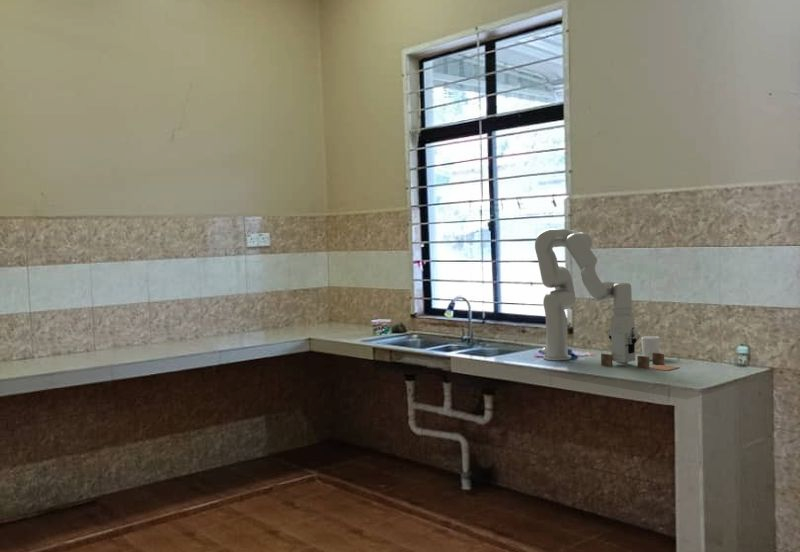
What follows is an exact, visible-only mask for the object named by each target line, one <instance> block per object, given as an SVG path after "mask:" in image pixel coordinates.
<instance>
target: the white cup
mask: <svg viewBox="0 0 800 552" xmlns="http://www.w3.org/2000/svg"><path fill="white" fill-rule="evenodd" d="M660 338H661V337H660V336H657V335H656V336H655V335H645V336H644V335H643V336H640V339H641V341H640V342H641V353H642V356H645V357H649V361H653V355H652V353H660V342H661V341H660Z"/></svg>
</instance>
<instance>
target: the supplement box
mask: <svg viewBox="0 0 800 552" xmlns="http://www.w3.org/2000/svg"><path fill="white" fill-rule="evenodd" d="M632 335H633V333H632V334H631V337H632ZM634 338H635V337H634ZM631 340H632V338H631ZM610 342H611V343H610V344H611V347H610V348H611V349H610V350H611V355H612V362H616V363H621V362H623V363H622V364H626V363H625V362H634V361H636V343H635V344H634V353H631V354H630V353H629V351H628V345H629V344H630V343H629V341H628V339H627V338H626V334H625V333H617V332H611V339H610Z"/></svg>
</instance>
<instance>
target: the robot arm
mask: <svg viewBox="0 0 800 552" xmlns="http://www.w3.org/2000/svg"><path fill="white" fill-rule="evenodd" d="M592 246H593V240H592V237H591V235H589V234H588V233H586V232H581V231H577V230H572V229H570V228H562V227H561V228H547V229H545V230H542V231H541V232H540V233H539V234H538V235H537V236H536V238H535V241H534V249H535V253H536V258H537V262H538V267H539V271H540V272H539V273H540V277H541V282H542V284H543V285H544V286H545V287H546V288H549V289H552V288H554V290H551V291H549V292H547V293H546V294H545V295H544V297H543V308H544V313H545V314H544V315H545V331H546V332H545V337H546V339H545V340H546V341H545V342H546V347H543V348H542V349H540V352H541V353H542V354H543V353H544V355H543V359H544V360H547V361H558V362H559V361H569V360H571V359H572V355H570V354H568V351H569V349H568V320H567V314H566V311H565V310H569V309H571V308H573V307H574V305H575V303H576V292H575V286H574V283H573V278H572V274H571V273H570V271H569V270H568V269H567V268H566V267H565V266H561V265H560V266H559V263H558V260H557V259H558V257H557V256H556V253H555V251H554V250H553V248H559V247H562V248H566V249H567V250H568V252H569V254H570V255H571V256H572V258H573V260H574V261H575V263H576V264H577V266H578V268H579V270H580V277H581V280H582V283H583V286H584V287H585V288H586V290H587V292H588V293H589V295H590V296H591V297H592V298H593V299H595V300H596V301H605V300H611V299H613V307H612V308H611V311H612V312H613V314H611V318H610V328H609V330H608V331H606V334H607V336H608V338H609V339H610V340H611V332H617V333H625V334H626V338H627V339H628V341H629V343H630V344H629V345H628V351H629V353H630V354H631V353H634V344H635V345H636V343H637V342H638V340H639V339H640V338H641V335H640V333H639V332H638V331H637V330H636V327H635V326H636V324H635V317H634V315H633V310H632V309H633V307H632V305H633V304H632V303H633V300H632V285H631V284H630V283H629V282H628V283H627V282H612V281H606V282H602V281H601V279H600V278H599V276H598V274H597V272H596V265H597V262H598V258H597V256H596V255H595V254H594V252H593V250H592V249H591V248H592ZM632 333H633V335H632V337H631V334H632ZM634 337H635V338H634ZM631 338H632V340H631Z"/></svg>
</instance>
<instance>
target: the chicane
mask: <svg viewBox="0 0 800 552" xmlns="http://www.w3.org/2000/svg"><path fill="white" fill-rule="evenodd" d="M652 355H653V360H652V365H653V366H656V365H665V353H661V352H659V353H652ZM636 357H637V359H636V360H637V369H644V370H651V369H650V368H649V367H650V360H649V357H645V356H643V355H637V356H636ZM600 360H601V362H600V364H601V365H600V366H604V367H605V366H606V367H613V361H612V353H610V354H609V353H603V352H602V353H601V354H600ZM620 363H621V364H628V362H625V363H623V362H620Z"/></svg>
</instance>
